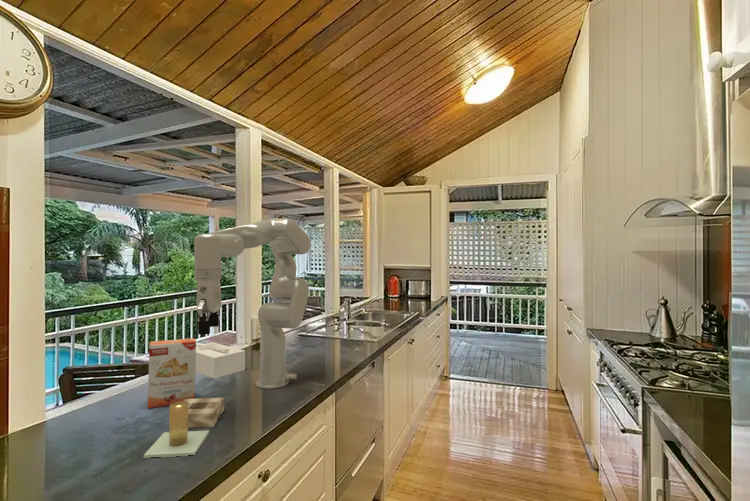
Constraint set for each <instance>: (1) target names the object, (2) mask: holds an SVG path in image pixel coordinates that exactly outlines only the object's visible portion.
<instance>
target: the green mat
mask: <svg viewBox="0 0 750 501" xmlns="http://www.w3.org/2000/svg"><path fill="white" fill-rule="evenodd" d="M209 434H210V430H209V429H208V430H191V431H190V430H188V441H187V443H185V444H183V445H180V446H170V445H169V431H166V432H162V434H161V435H160V436H159V438H157V439H156V441H155V442H154V443H153V444H152V445H151V446H150V448H148V449H147V451H146V452H145V453H144V454H143V459H152V458H151V457H161V458H176V456H180V457H189V456H188V455H195V456H196V454H197V453H198V451H199V450H200V448H201V447H200V446H202V445H203V443H204V442H205V440H206V439H207V437H208V436H209ZM198 449H199V450H198ZM196 452H197V453H196Z"/></svg>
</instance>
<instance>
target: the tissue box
mask: <svg viewBox="0 0 750 501" xmlns="http://www.w3.org/2000/svg"><path fill="white" fill-rule="evenodd" d="M245 370H246V350H243V349H241V348H235V347H232V346H229V345H224V344H220V343H216V342H212V341H211V342H208V343H207V342H206V343H202V344H196V367H195V373H197V374H201V375H203V376H206V377H209V378H212V379H214V378H215V379H218V378H222V377H224V376H229V375H232V374H236V373H238V372H243V371H245ZM221 376H222V377H221Z"/></svg>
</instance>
